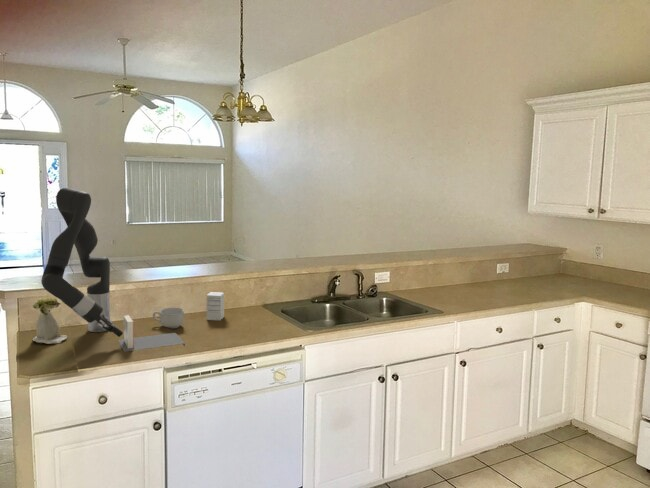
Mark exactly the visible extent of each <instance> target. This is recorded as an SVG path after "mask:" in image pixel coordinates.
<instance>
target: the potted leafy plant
mask: <svg viewBox="0 0 650 488" xmlns="http://www.w3.org/2000/svg"><path fill="white" fill-rule="evenodd" d="M61 303H62V302H61ZM61 303H60V302H58V300H57V299H56V298H53V297H43V298H39V299H38V300H37V301H36V302H35V303H34V304H32V308H34V309H35V310H39V312H40V313H39V315H38V317H37V320H36V324H35V326H36V327H35V330H36V331H35V332H36V336H34V337H33V338H32V339H31V341H32V342H36V343H40V344H43V343H44V344H47V345H50V344H61V343H62V342H63V341H66V339H68V336H67V334H66V335H63V334H62V335H61V334H60V333H59V332H60V330H61V329H60V325H59V322H58V321H57V320H56V318H55V317H54V315H53V314H52V313H51V311H52V309H56V308H59V306H60V305H61Z"/></svg>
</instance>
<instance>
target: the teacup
mask: <svg viewBox="0 0 650 488" xmlns="http://www.w3.org/2000/svg"><path fill="white" fill-rule="evenodd" d="M184 313H185V309H183V308H181V307H174V306H173V307H172V306H170V307H165V308H162V309H161V310H160V311H159V310H155V311H153V313H152V318H153V319H154V320H155V321H157V322H158V323H159V324H161V325H162V326H163V327H164V328H168V329H170V330H171V329H177V328H179V327H180V326H182V324H183V323H184V320H185V319H184V317H185V316H184V315H185V314H184ZM156 314H158V316H159V317H160V318H159V317H158V318H157V316H156Z"/></svg>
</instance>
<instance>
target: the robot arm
mask: <svg viewBox="0 0 650 488" xmlns="http://www.w3.org/2000/svg"><path fill="white" fill-rule="evenodd" d="M55 201H56V202H55V204H56V206H57V210H58V211H59V213H60V214H61V217H62V218H63V220H64V221H65V225H66V226H67V227H66V228H65V229H64V230H63V231H62V232H61V233H60V234H59V235H58V236H57V237H56V238H55V239H54V241H53V242H52V245H51V247H50V251H49V255H48V259H47V263H46V265H45V269H44V271H43V272H42V276H41V285H42V287H43V290H44V291H47V292H48V293H49V294H51V295H52V296H54V297H55V298H57V299H59V300H60V301H61V303H64V304H65V305H66V306H67V307H69V308H70V309H71V310H72V311H73V312H74V313H76V314H77V315H78V316H79V317H81V318H82V319H83V320H85V322H87V327H88V328H87V330H88V332H90V333H103V332H107V331H108V332H109V333H113V334H114V335H116V336H117V337H119V338H120V337H121V336H122V335H124V331H122V330H121V329H120V328H118V327H116V325H115V323H114V322H113V321H112V320H111V301H110V298H111V295H110V284H111V283H110V280H111V279H110V274H111V272H110V271H111V263H110V259H109V258H108V257H107V256H90V255H91V254H92V252H93V251H94V250H95V249H96V247H97V244H98V241H99V240H98V236H97V232H96V230H95V227H94V226H93V224H92V223H91V222H90V221H88V219H86V218H87V215H88V214H89V211H90V209H91V205H92V197H91V194H90V193H88V192H85V191H83V190H79V189H74V188H70V187H63V188H61V189H58V191H57V194H56V197H55ZM74 247H75V249H76V252H77V255H78V257H79V261H80V266H81V271H82V273H83V275H84V276H85V277H86V278H93V279H95V278H99V279H100V280H99V281H98V282H96V283H93V284H90V285H88V286H87V288H86V294H85V293H83V292H82V291H81V290H79V289H78V288H77V287H75V286H73V285H71V283H69V282H68V281H67V280H66V279H64V278H63V277H64V273H65V270H66V267H68V265H69V261H70V259H71V255H72V250H73V248H74Z"/></svg>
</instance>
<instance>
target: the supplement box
mask: <svg viewBox="0 0 650 488" xmlns="http://www.w3.org/2000/svg"><path fill="white" fill-rule="evenodd" d="M224 317H225V292H221V291H220V292H219V291H216V292H215V291H211V292H208V293H207V294H206V321H222V320H223V318H224ZM221 319H222V320H221Z"/></svg>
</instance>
